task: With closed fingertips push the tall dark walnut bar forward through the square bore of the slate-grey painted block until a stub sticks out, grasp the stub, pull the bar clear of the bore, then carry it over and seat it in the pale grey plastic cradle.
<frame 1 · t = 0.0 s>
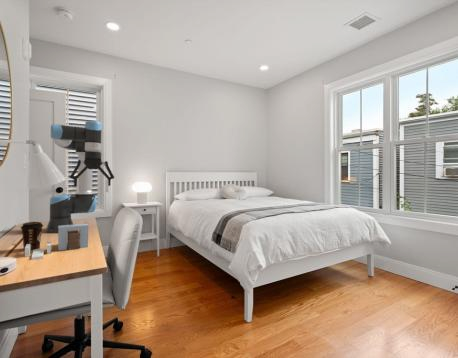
hand: (92, 192, 133), 28 cm above the table, fingers open, 13 cm apart
cradle: (38, 254, 117), on the table
walnut bar: (72, 246, 132), on the table
coffee cup: (32, 249, 126), on the table
bore block: (73, 247, 129), on the table
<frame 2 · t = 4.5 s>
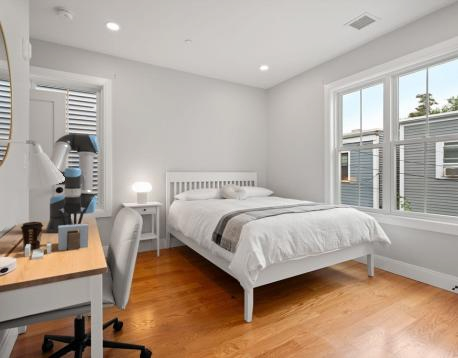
hand: (72, 239, 138), 2 cm above the table, fingers closed
walnut bar: (72, 246, 131), on the table, touching gripper
everything else where it was.
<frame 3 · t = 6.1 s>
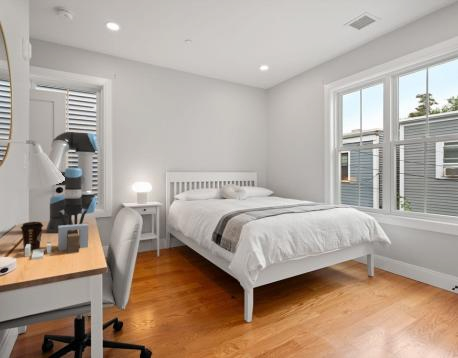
hand: (72, 242, 134), 1 cm above the table, fingers closed
walnut bar: (72, 249, 127), on the table, touching gripper
everything else where it was.
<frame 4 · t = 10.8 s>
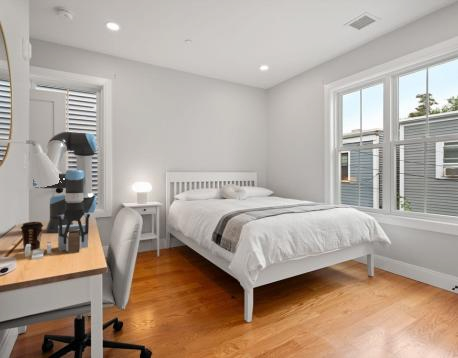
hand: (73, 249, 123), 1 cm above the table, fingers closed on walnut bar, 5 cm apart
walnut bar: (73, 249, 127), on the table, touching gripper
everything else where it was.
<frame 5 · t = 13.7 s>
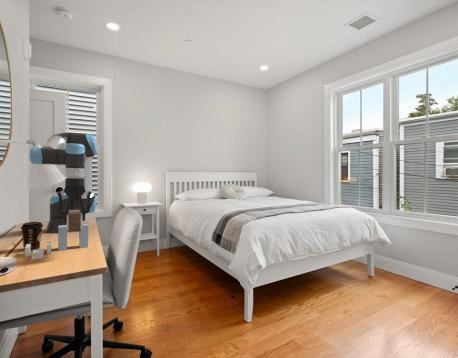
hand: (74, 228, 116), 12 cm above the table, fingers closed on walnut bar, 5 cm apart
walnut bar: (74, 228, 120), point 12 cm above the table, touching gripper
everything else where it was.
when the fingers open (3 cm above the table, at t = 16.5 s): walnut bar drops 1 cm, resting on cradle.
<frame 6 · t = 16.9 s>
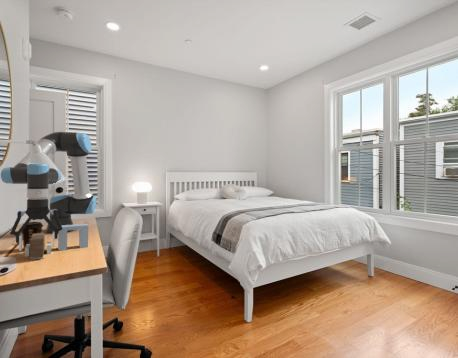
hand: (37, 248, 112), 4 cm above the table, fingers open, 11 cm apart
walnut bar: (37, 253, 116), point 1 cm above the table, touching cradle
everything else where it was.
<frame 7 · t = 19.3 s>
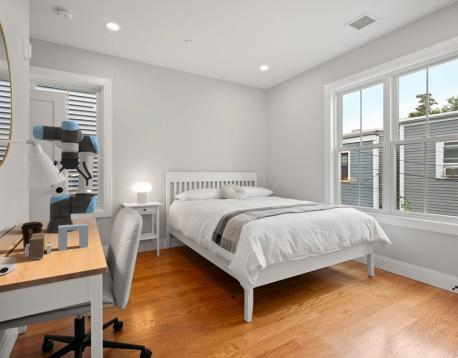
hand: (69, 192, 132), 28 cm above the table, fingers open, 13 cm apart
nothing on the table moved.
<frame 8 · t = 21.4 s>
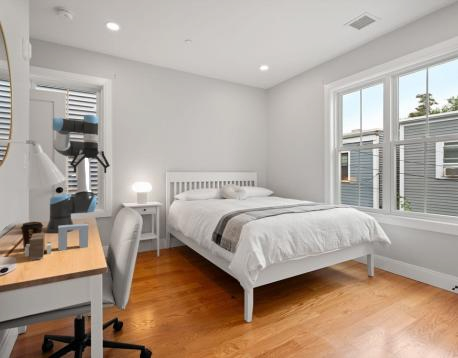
hand: (90, 178, 149), 35 cm above the table, fingers open, 13 cm apart
nothing on the table moved.
at the end: walnut bar inside the target area on the cradle (0.5 cm from its centre), point 1.0 cm above the cradle's base; walnut bar tilted 0°; the gripper is holding nothing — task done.
